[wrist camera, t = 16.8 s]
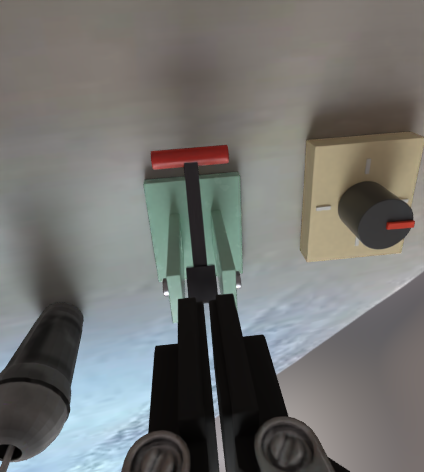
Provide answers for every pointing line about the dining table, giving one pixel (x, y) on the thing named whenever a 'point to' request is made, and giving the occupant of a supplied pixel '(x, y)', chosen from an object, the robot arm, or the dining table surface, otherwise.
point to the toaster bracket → (178, 231)
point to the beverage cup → (39, 384)
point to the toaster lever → (195, 211)
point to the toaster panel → (346, 175)
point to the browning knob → (375, 215)
